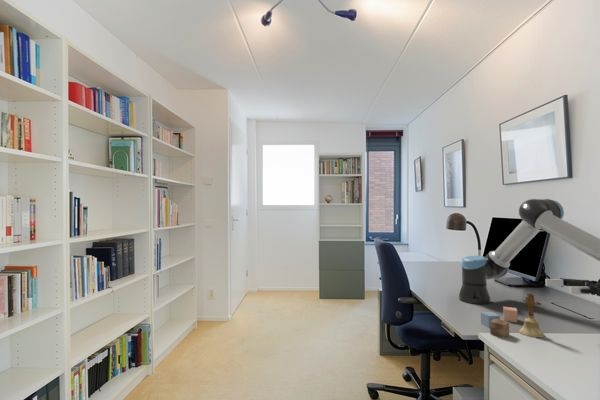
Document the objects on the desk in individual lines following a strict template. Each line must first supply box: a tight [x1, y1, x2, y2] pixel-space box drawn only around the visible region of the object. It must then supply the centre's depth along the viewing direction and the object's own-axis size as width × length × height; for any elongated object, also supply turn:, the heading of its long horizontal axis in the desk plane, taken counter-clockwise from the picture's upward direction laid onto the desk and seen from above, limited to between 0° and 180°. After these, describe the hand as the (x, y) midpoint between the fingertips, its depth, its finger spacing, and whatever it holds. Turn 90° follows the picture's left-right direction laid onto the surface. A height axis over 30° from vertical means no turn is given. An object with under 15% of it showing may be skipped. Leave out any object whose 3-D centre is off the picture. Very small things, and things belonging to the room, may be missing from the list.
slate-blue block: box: [480, 311, 501, 329], centre depth 140 cm, size 5×5×5 cm
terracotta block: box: [502, 306, 518, 323], centre depth 147 cm, size 5×5×5 cm
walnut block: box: [489, 319, 510, 339], centre depth 130 cm, size 5×5×5 cm
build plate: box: [522, 292, 539, 306], centre depth 176 cm, size 12×7×5 cm, turn 154°
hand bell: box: [518, 292, 545, 338], centre depth 131 cm, size 8×8×16 cm
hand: (557, 286), depth 130 cm, fingers open, 13 cm apart
